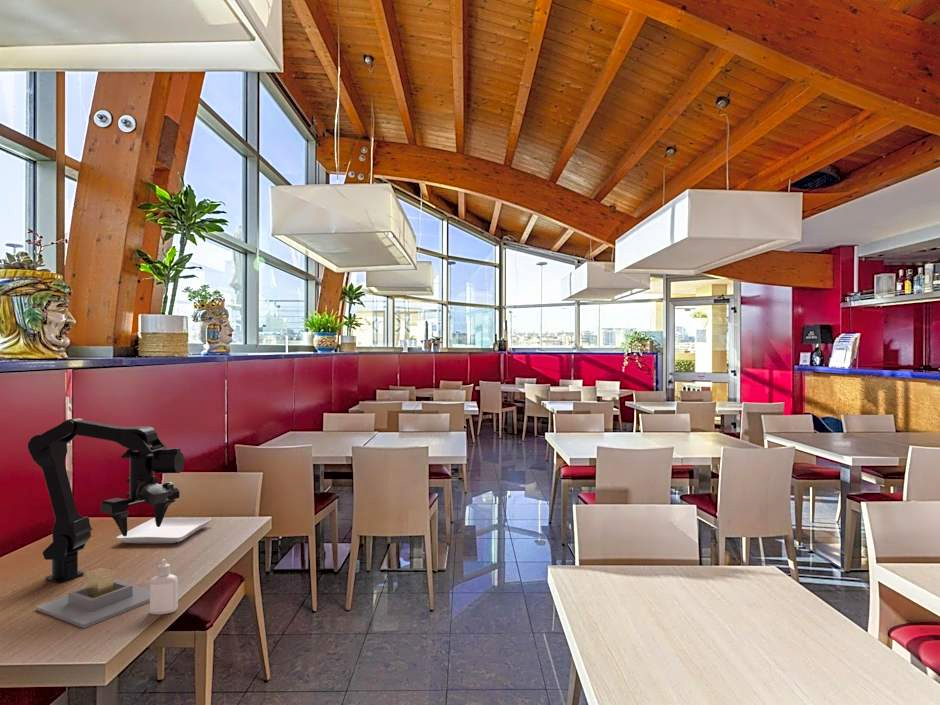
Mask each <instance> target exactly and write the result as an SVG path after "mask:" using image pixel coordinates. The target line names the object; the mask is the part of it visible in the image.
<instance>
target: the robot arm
mask: <svg viewBox="0 0 940 705" xmlns="http://www.w3.org/2000/svg"><path fill="white" fill-rule="evenodd" d="M77 436H81V437H88V438H92V439H93V438H94V439H99V440H105V441H108V442H109V441H110V442H114V443H117V444H118V445H120V446H121V447H124V448H126V449H127V450H126V451H125V452H124V453H123V454H121V455H120V458H121V459H129V477H127V478H126V482H127V483H129V492H127V493H126V499H125V498H120V497H115V498H109V499H104V500H103V501H102V502H101V504H100V512H101V513H105V514H106V515H110V516H111V518H112V519H113V520H114V522H115V524H116V525H117V527H118V529H119V531H120V532H121V534H122V535H123V536H127V531H128V516H129V514H130V510H129V511H127V510H128V509H129V507H131V506H135V505H138V504H144V503H147V504H148V506H153V508H154V518H155V521H156V526H157V527H160V526H161V523H162V520H163V518H165V515H166V512H167V510H168V508H169V506H171V505H172V504H173V503H174V502H176V499H177V500H178V499H180V498H181V494H180V492H181V491H180V490H179V489H178V487H174V483H173V482H172V481H167V482H165V483H161V484H159V482H158V480H159V479H158V477H157V476H156V475H155V473H156V474H181V473H182V472H183V470H184V467H185V462H186V458H185V457H184V454H183V453H182V452H181V449H182V448H181V447H174V448H167V447H166V445H165V444H164V442H162V440H161V439H160V438H159V436H158V433H157V431H156V429H155V428H154V427H151V426H143V425H142V426H120V425H114V424H109V423H104V422H98V421H92V420H87V419H86V420H85V419H83V418H81V417H76V418H75V417H74V418H70V419H65V421H63V422H61V423H60V424H59V425H57V426H55V427H52V428H50V429H49V430H46V431H45V432H43V433H41V434H36V435H34V436H32V437H31V438H30V440H29V441H28V442H27V450H28V452H29V454H30V456H31V459H32V460H33V461H34V462H35V463H36V464H37V465H38V466H39V468H41V470H42V473H43V477H44V480H45V485H46V488H47V492H48V495H49V499H50V503H51V506H52V511H53V515H54V519H55V521H54V525H53V528H52V532H51V534H52V542H51V543H50V544H49V545H48V547H46V548H45V550H43V551H42V556H43V558H44V560H45V561H48V560H50V561H51V574H50V575H48V576H45V580H48V581H51V582H54V583H57V584H58V583H62V582H65V581H68V580H71V579H73V578H74V579H75V578H77V577H81V576H83V575H84V574H85V572H83V571H80V570H79V565H78V564H79V554H78V552H79V551H80V550H83V549H85V546H86V543H87V542H89V540H90V538H91V536H92V532H91V531H93V528H92V527H91V524H90V523H91V522H90V518H89V516H88V515H87V516H85V517H82V516H81V514H79V512H78V509H77V506H76V503H75V498H74V494H73V490H72V487H71V483H70V480H69V477H68V472H67V467H66V465H65V461H66V458H67V454H68V443H70V442H71V441H72V440H74V439H75V438H76V437H77Z"/></svg>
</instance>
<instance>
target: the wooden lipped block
mask: <svg viewBox="0 0 940 705" xmlns="http://www.w3.org/2000/svg"><path fill="white" fill-rule="evenodd" d="M116 572H117V571H116V570H111V569H110V568H109V569H108V568H104V567H102V566H101V567H99V568H96V569H93V570H92V569H91V570H89V571H85V576H86V577H88V579H87V580H88V583H87V584H88V585H87V587H88V597H91V598H96V597H98V596H101V595H104V594H107V593H109V592H112V591H113V580H114V576H115V575H116V574H117V573H116Z"/></svg>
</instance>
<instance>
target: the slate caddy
mask: <svg viewBox="0 0 940 705" xmlns="http://www.w3.org/2000/svg"><path fill="white" fill-rule="evenodd" d="M149 603H150V588H146V587H144V586H140V585H136V584H132V583H129V582H126V581H124V580H123V581H122V580H119V579H114V578H113V591H112V592H109V593H107V594H104V595H101V596H98V597H96V598H91V597H88V586H85V587H82V588H79V589H76V590H73V591H71V592H68V593H67V595H65V596H63V597H59V598H56V599H53V600H51V601H48V602H45V603H41V604H39V605H37V606H35V610H36V611H38V612H40V613H42V614H45V615H48V616H50V617H54V618H56V619H58V620H61V621H64V622H66V623H69V624H71V625H74V626H76V627H79V628H82V629H85V628H89V627H91V626H93V625H95V624H98V623H101V622H103V621H106V620H108V619H112V618H113V617H115V616H118V615H121V614H123V613H125V612H128V611H131V610H133V609H135V608H137V607H140V606H142V605H145V604H149Z"/></svg>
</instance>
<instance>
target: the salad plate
mask: <svg viewBox="0 0 940 705" xmlns="http://www.w3.org/2000/svg"><path fill="white" fill-rule="evenodd" d="M211 521H212V518H211V517H164V518H163V520H162V523H161V526H160V527H157V526H156V521H155V517H154V518H151V519H149V520H147V521H145V522H143V523H141V524H139V525H137V526H135V527H133V528H132V529H130V530H127V536H123V535H122V533H121V534H120V535H118V536H116V540H118V541H119V542H122V543H125V544H175V543H176V542H177V543H180V542H181V541H183V540H185V539H186V538H189V537H190V536H191V535H193V534H195V533H196V532H197V531H199V530H201V529H203V528H204V527H206V526H207V525H208V524H209V523H210V522H211Z"/></svg>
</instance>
